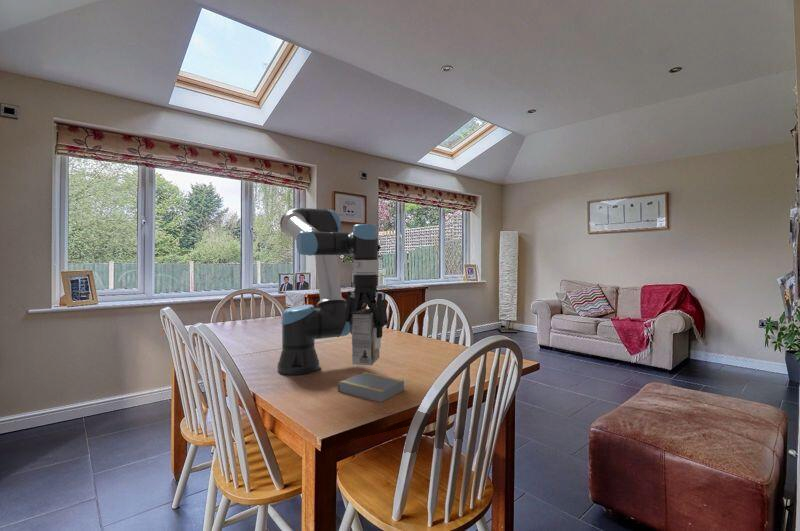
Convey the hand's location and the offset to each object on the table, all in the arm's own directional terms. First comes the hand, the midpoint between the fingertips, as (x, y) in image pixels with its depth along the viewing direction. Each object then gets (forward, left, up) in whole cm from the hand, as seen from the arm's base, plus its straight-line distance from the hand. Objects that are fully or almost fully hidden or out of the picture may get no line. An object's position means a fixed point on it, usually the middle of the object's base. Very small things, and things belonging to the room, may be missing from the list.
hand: (366, 346), depth 120 cm
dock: (+2, +1, -14) cm, 14 cm away
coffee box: (0, 0, -5) cm, 5 cm away
